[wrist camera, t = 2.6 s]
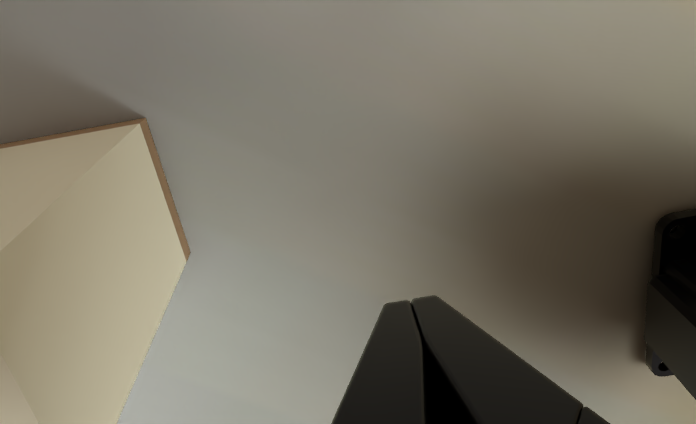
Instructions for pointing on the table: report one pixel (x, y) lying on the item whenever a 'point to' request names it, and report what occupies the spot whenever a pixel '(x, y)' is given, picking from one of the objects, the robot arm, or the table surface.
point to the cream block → (82, 270)
